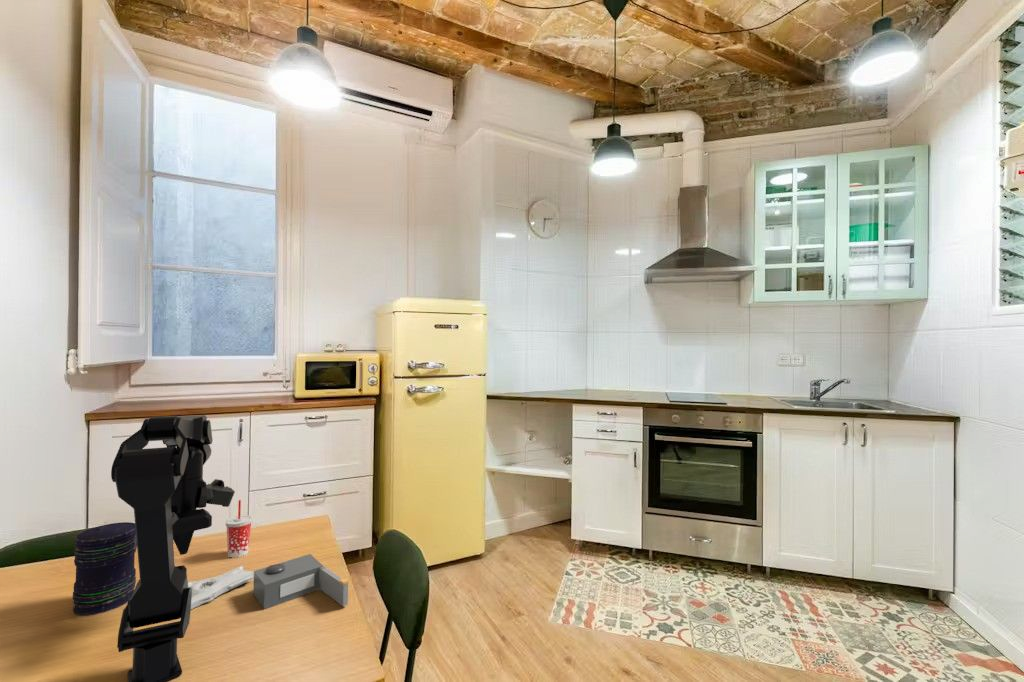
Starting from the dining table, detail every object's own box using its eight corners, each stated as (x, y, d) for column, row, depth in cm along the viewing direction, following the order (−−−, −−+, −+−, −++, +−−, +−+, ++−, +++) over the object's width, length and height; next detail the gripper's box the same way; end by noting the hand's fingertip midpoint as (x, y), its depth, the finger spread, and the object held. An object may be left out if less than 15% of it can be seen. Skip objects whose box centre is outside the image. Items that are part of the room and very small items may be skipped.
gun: (234, 557, 107) (257, 568, 102) (235, 571, 107) (258, 583, 102) (142, 596, 91) (163, 612, 86) (142, 613, 91) (164, 629, 86)
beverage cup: (256, 552, 117) (257, 499, 117) (231, 561, 112) (233, 506, 112) (244, 546, 120) (245, 495, 120) (219, 555, 115) (221, 501, 115)
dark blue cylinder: (146, 593, 97) (149, 525, 97) (94, 619, 87) (96, 543, 88) (114, 586, 99) (116, 519, 100) (59, 611, 90) (62, 537, 90)
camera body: (323, 588, 100) (323, 563, 100) (264, 609, 91) (265, 582, 91) (309, 574, 105) (310, 551, 105) (253, 593, 97) (254, 568, 97)
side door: (323, 585, 100) (323, 564, 100) (348, 604, 93) (348, 580, 93) (318, 588, 99) (318, 566, 99) (342, 606, 92) (343, 582, 92)
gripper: (242, 479, 89) (240, 556, 89) (221, 462, 103) (219, 529, 102) (173, 490, 81) (171, 576, 81) (160, 470, 95) (158, 543, 94)
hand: (183, 553), depth 90 cm, fingers closed
